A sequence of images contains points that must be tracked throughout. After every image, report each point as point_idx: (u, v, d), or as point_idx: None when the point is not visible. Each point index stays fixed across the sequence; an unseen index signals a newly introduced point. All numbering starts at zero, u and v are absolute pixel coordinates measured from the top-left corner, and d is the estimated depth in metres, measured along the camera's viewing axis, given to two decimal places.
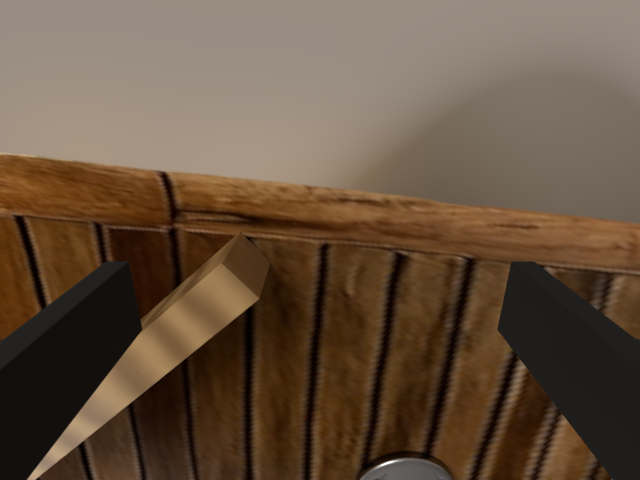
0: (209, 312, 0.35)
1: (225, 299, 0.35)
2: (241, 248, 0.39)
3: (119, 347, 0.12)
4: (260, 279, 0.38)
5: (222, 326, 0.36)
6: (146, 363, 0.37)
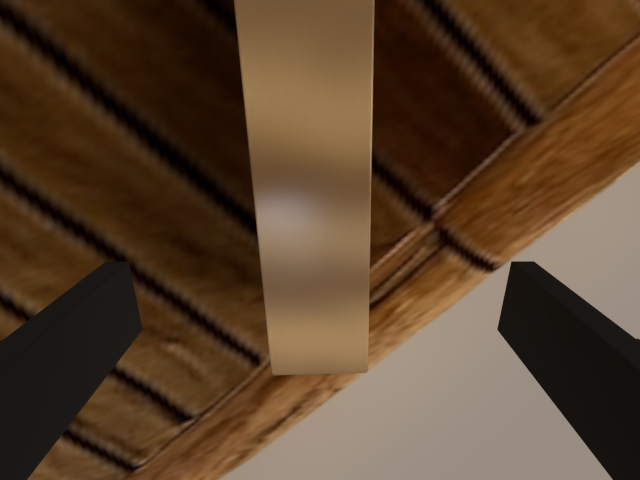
0: (307, 295, 0.17)
1: (310, 334, 0.18)
2: None
3: (119, 347, 0.12)
4: None
5: (267, 292, 0.17)
6: (300, 78, 0.14)
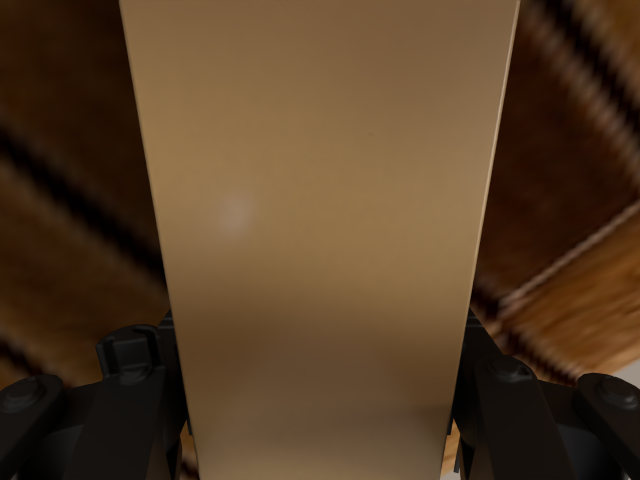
0: None
1: None
2: None
3: None
4: None
5: None
6: (299, 126, 0.05)
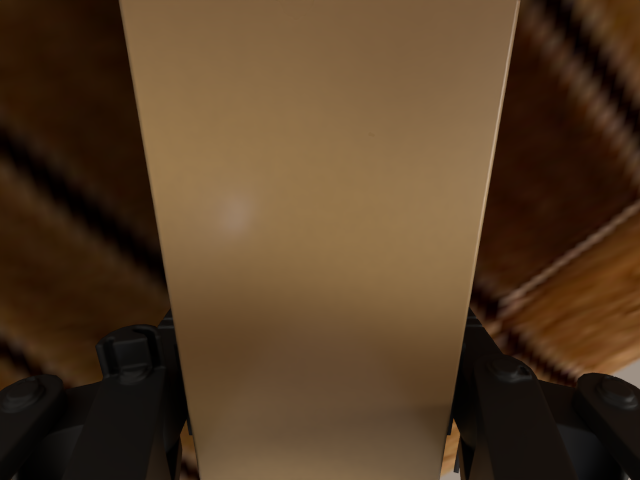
0: None
1: None
2: None
3: None
4: None
5: None
6: (300, 126, 0.05)
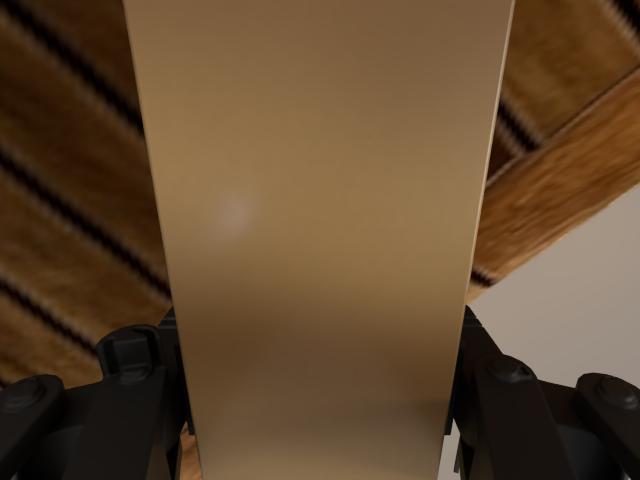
0: None
1: None
2: None
3: None
4: None
5: None
6: (300, 128, 0.05)
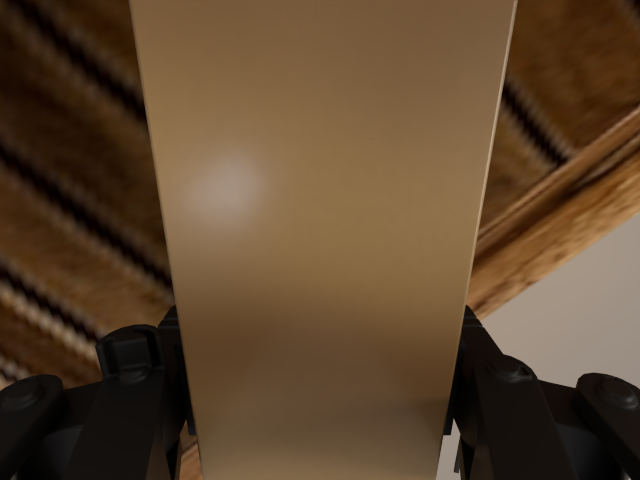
0: None
1: None
2: None
3: None
4: None
5: None
6: (302, 131, 0.05)
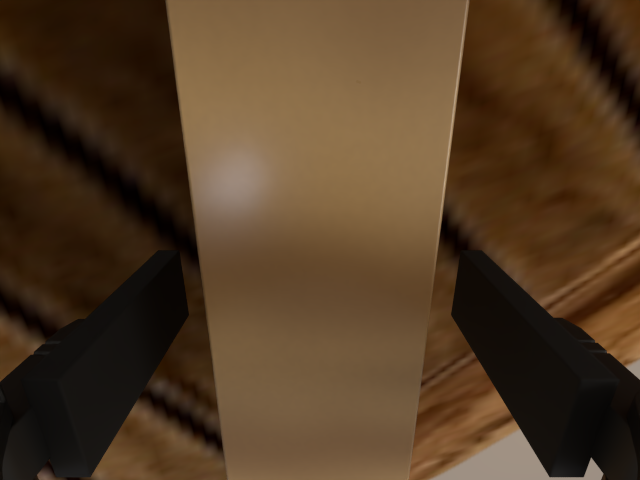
0: (302, 461, 0.10)
1: None
2: None
3: (172, 329, 0.13)
4: None
5: (230, 455, 0.10)
6: (301, 75, 0.06)
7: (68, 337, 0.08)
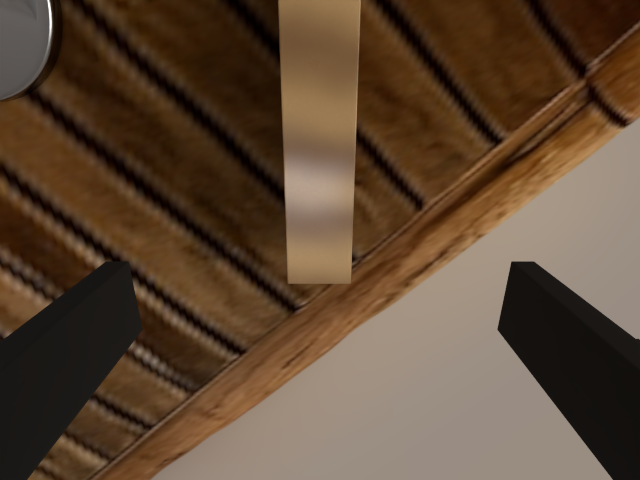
0: (313, 228, 0.27)
1: (314, 255, 0.28)
2: None
3: (119, 347, 0.12)
4: None
5: (288, 225, 0.27)
6: (315, 92, 0.24)
7: None
